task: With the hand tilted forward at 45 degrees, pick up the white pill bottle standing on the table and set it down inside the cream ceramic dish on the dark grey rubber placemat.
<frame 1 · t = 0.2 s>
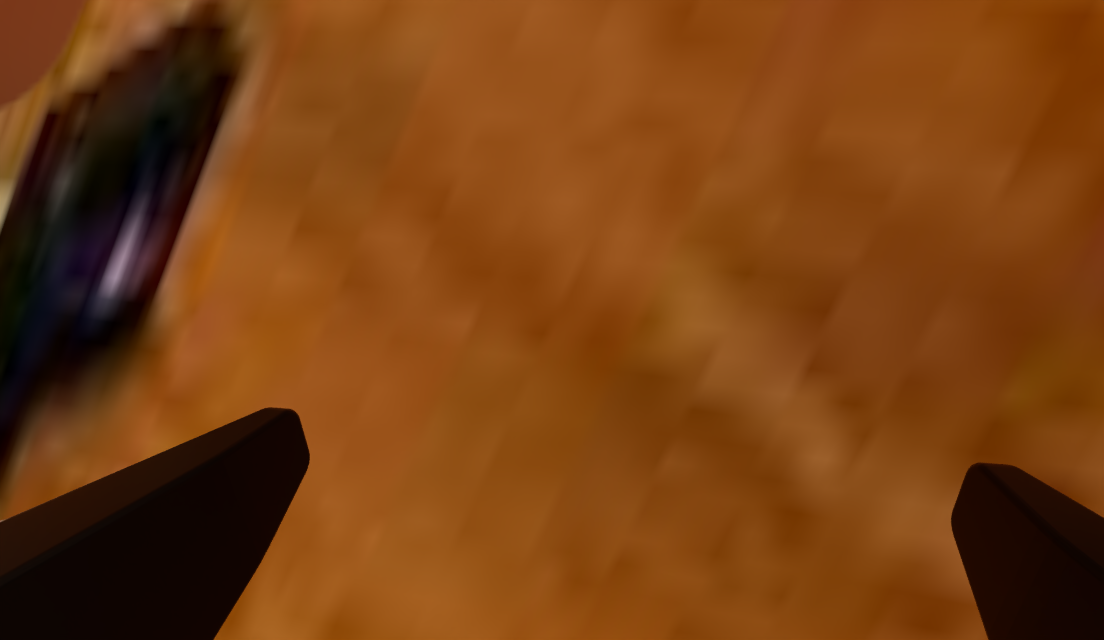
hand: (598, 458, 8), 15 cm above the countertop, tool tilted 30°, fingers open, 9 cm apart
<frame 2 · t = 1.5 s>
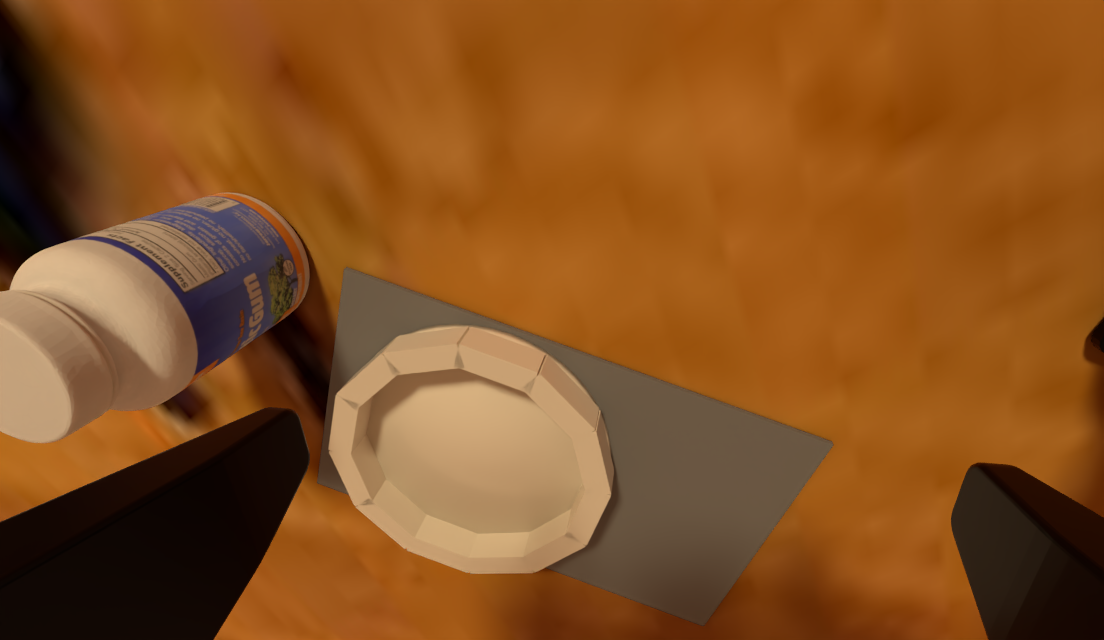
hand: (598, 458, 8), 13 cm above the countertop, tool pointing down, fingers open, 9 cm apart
placemat: (543, 463, 25), on the countertop
dish: (478, 442, 25), resting on placemat
pill bottle: (255, 253, 23), on the countertop
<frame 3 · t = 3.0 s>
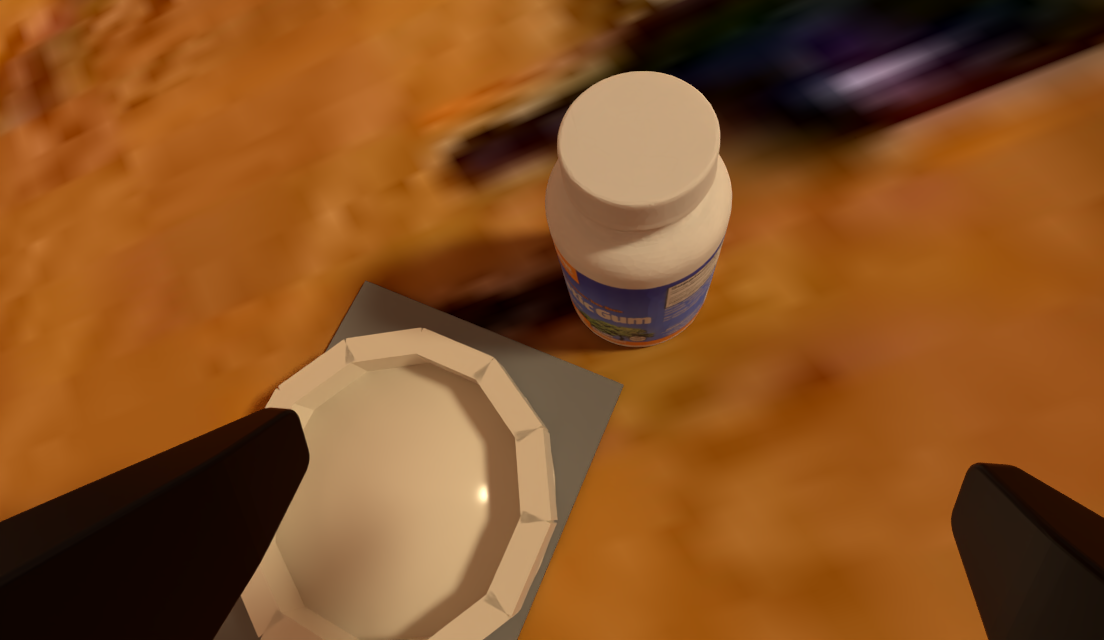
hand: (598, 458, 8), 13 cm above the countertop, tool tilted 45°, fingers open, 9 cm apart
placemat: (367, 571, 21), on the countertop
dish: (404, 493, 21), resting on placemat
pill bottle: (638, 288, 23), on the countertop
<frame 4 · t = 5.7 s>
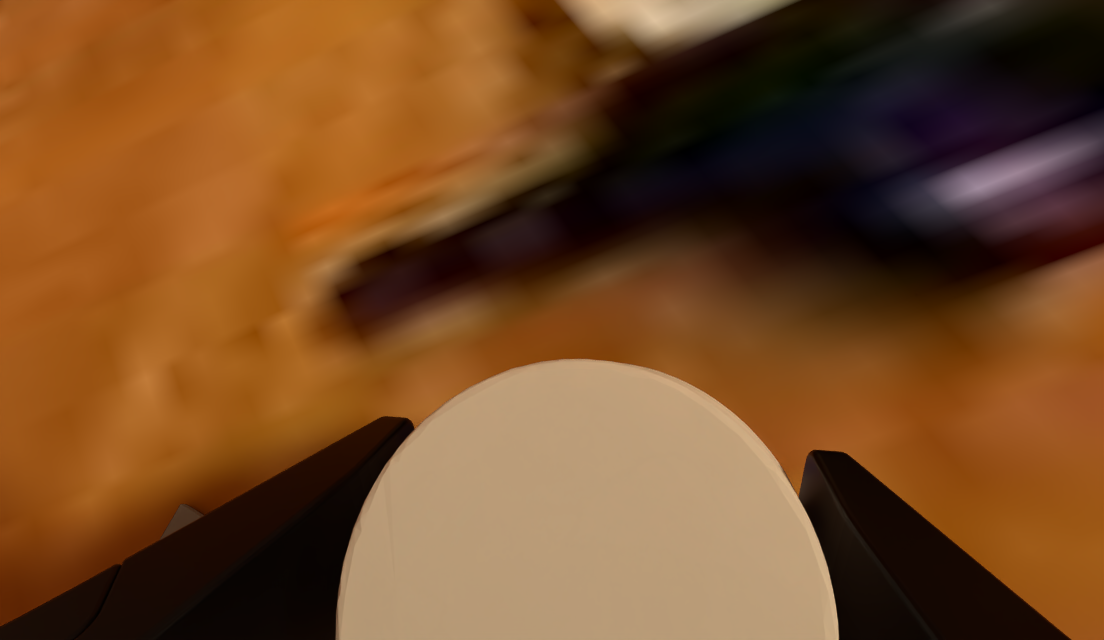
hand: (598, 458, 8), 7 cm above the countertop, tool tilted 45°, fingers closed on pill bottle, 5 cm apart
pill bottle: (617, 544, 14), on the countertop, touching gripper
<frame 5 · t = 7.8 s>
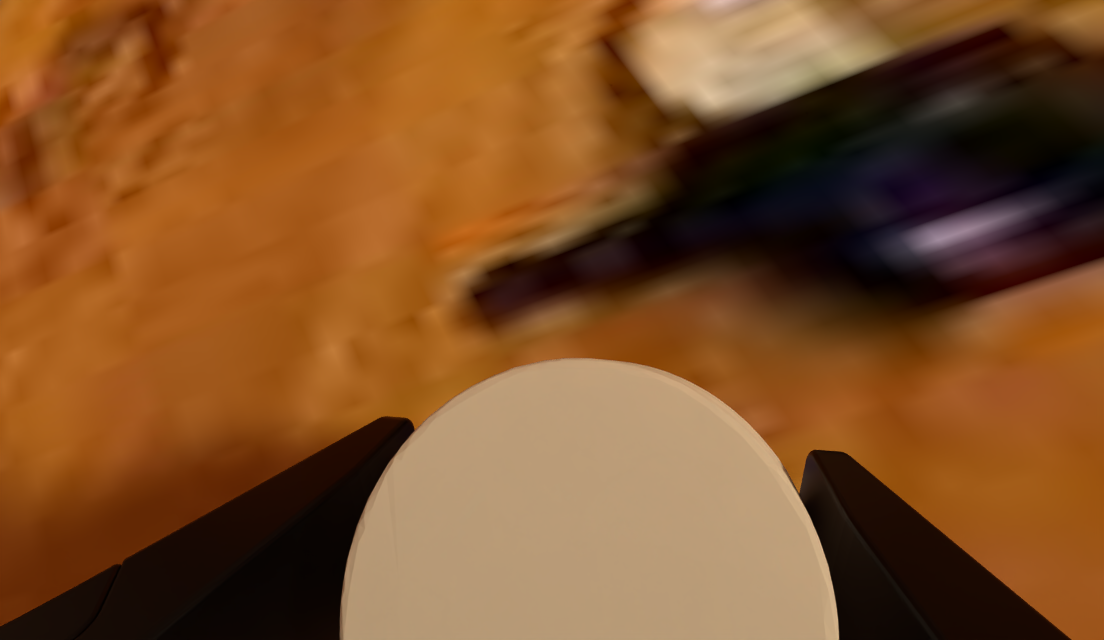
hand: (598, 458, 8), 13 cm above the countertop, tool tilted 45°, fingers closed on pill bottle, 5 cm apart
pill bottle: (620, 542, 14), point 6 cm above the countertop, touching gripper
when the fingers open (11 cm above the countertop, at t = 9.9 s): pill bottle drops 3 cm, resting on dish.
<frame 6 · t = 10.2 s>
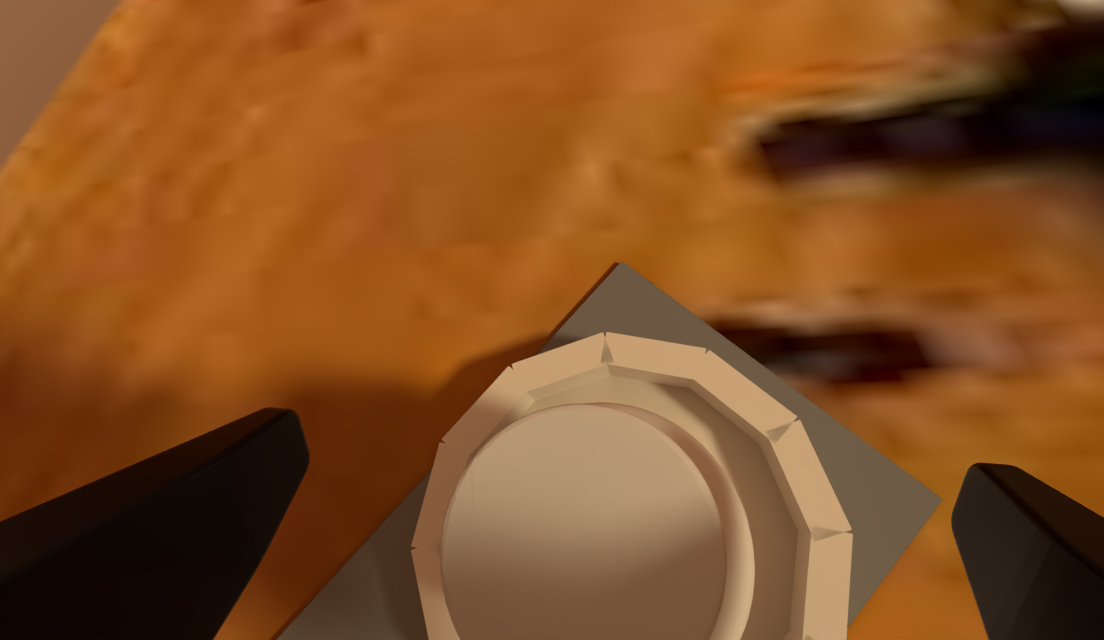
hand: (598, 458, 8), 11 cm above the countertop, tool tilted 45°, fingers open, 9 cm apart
placemat: (558, 615, 17), on the countertop
dish: (622, 537, 17), resting on placemat
pill bottle: (629, 550, 17), point 1 cm above the countertop, touching dish
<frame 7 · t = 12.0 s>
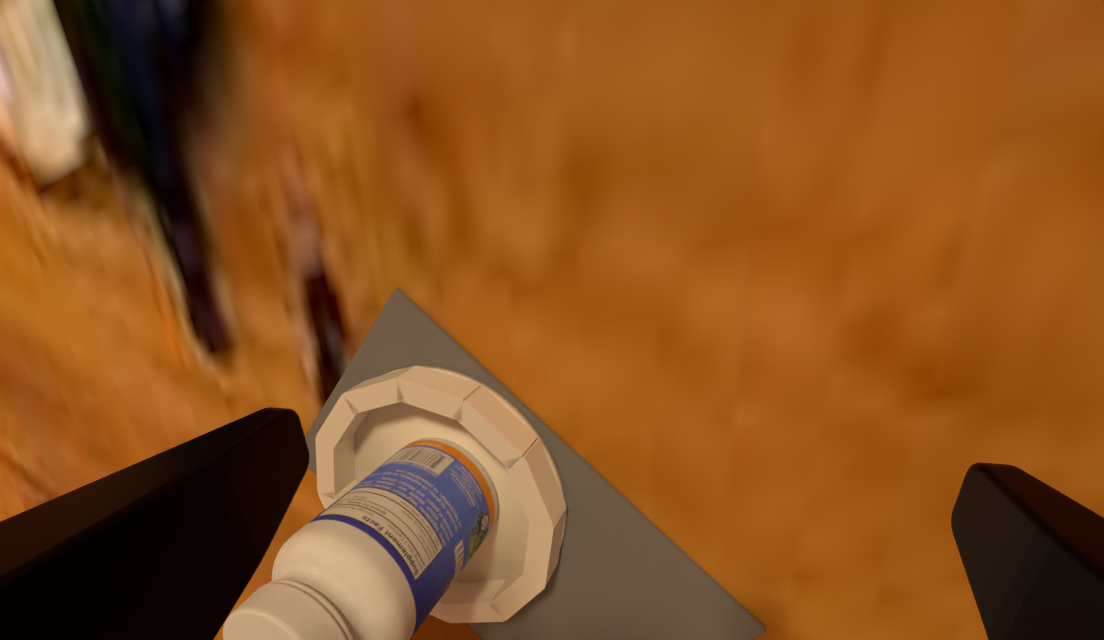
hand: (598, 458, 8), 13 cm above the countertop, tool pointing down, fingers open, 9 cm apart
placemat: (498, 527, 26), on the countertop
dish: (447, 484, 26), resting on placemat
pill bottle: (449, 485, 25), point 1 cm above the countertop, touching dish
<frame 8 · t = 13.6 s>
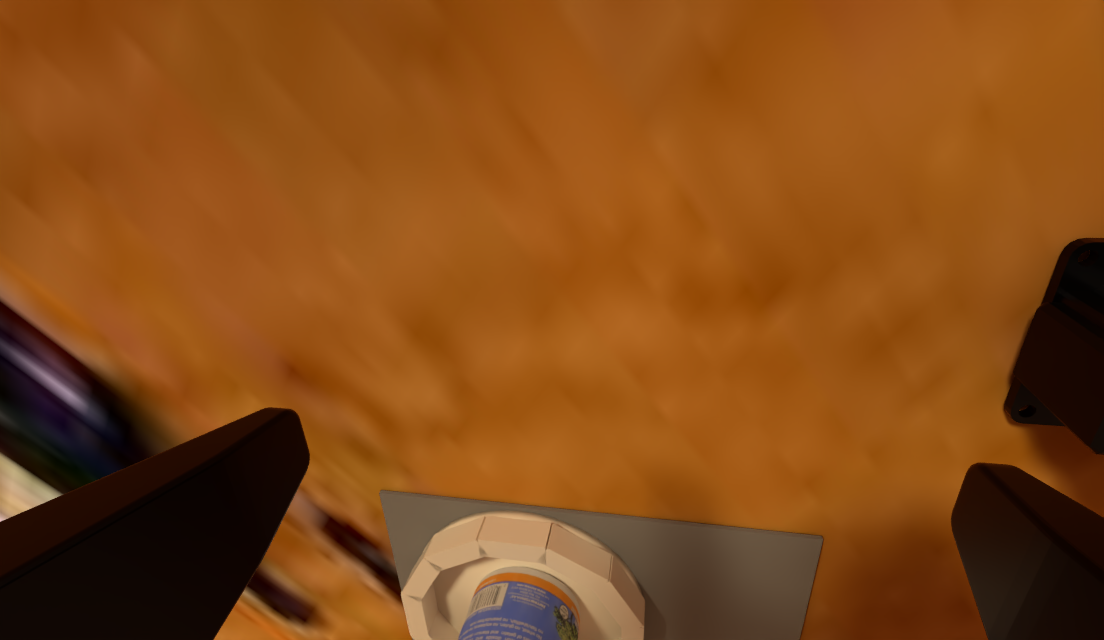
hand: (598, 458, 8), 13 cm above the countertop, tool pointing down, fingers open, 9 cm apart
placemat: (587, 601, 28), on the countertop
dish: (528, 597, 29), resting on placemat
pill bottle: (528, 597, 28), point 1 cm above the countertop, touching dish
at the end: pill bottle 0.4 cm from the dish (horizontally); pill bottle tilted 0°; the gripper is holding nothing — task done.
